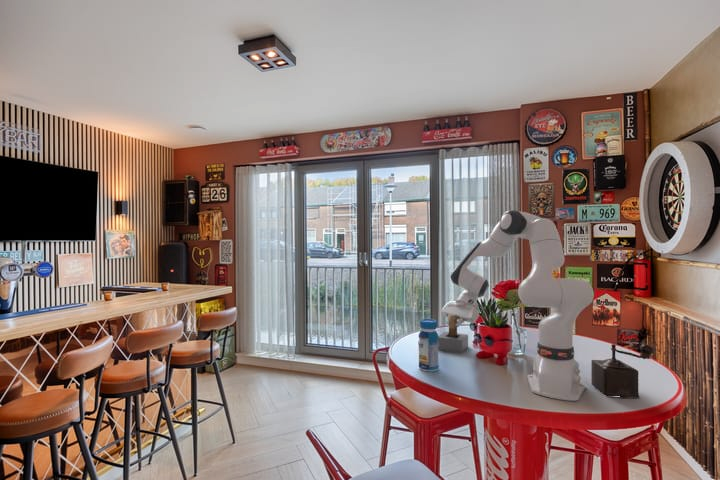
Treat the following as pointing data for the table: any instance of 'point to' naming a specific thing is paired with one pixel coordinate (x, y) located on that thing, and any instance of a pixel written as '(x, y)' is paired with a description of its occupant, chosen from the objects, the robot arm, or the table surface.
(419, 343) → the beverage bottle
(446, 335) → the charcoal socket
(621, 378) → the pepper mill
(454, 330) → the walnut peg
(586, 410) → the table surface
